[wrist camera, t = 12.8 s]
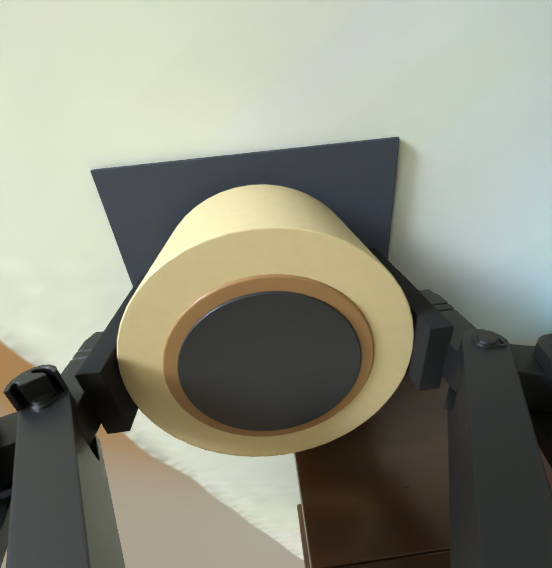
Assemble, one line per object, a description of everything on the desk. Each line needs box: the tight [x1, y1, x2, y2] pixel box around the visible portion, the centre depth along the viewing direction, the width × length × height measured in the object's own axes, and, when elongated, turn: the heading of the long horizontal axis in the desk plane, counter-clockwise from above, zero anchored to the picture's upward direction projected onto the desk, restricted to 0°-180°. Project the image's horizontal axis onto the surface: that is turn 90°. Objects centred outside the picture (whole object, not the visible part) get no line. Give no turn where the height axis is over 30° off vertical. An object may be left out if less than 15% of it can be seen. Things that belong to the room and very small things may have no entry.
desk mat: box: [91, 137, 399, 287], centre depth 17 cm, size 12×14×1 cm
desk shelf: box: [294, 372, 552, 568], centre depth 19 cm, size 20×13×15 cm, turn 5°
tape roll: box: [117, 184, 414, 457], centre depth 13 cm, size 10×10×6 cm
